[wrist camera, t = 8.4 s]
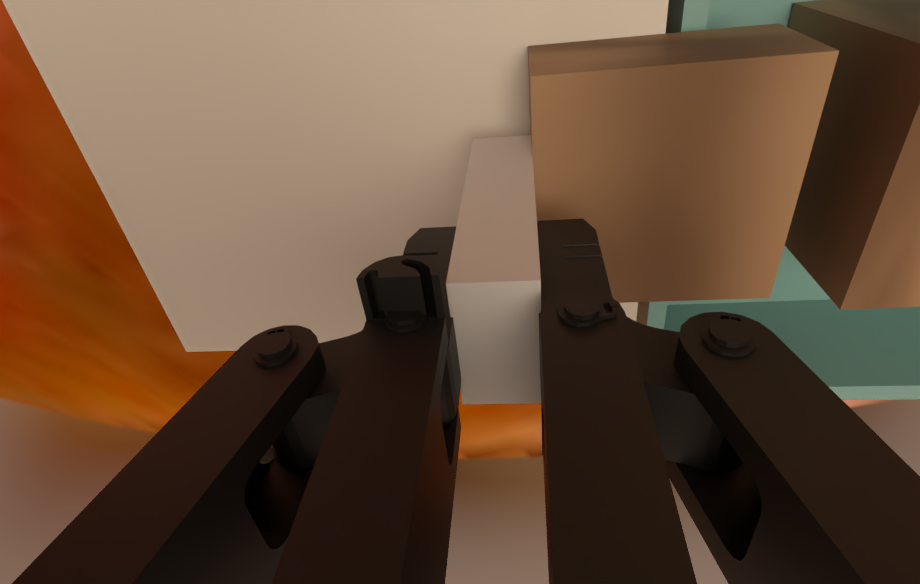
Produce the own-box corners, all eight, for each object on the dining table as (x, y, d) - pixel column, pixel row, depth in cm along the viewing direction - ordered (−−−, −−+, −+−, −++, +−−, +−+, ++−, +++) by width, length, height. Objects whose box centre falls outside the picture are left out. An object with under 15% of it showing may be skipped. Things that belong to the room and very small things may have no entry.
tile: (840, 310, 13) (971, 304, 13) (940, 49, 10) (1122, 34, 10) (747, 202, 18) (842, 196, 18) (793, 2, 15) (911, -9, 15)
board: (220, 305, 24) (186, 351, 21) (46, -81, 16) (-40, -79, 13) (620, 290, 21) (634, 340, 19) (656, -168, 13) (687, -185, 11)
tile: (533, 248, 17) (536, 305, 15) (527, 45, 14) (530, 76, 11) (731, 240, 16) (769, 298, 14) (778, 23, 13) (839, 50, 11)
